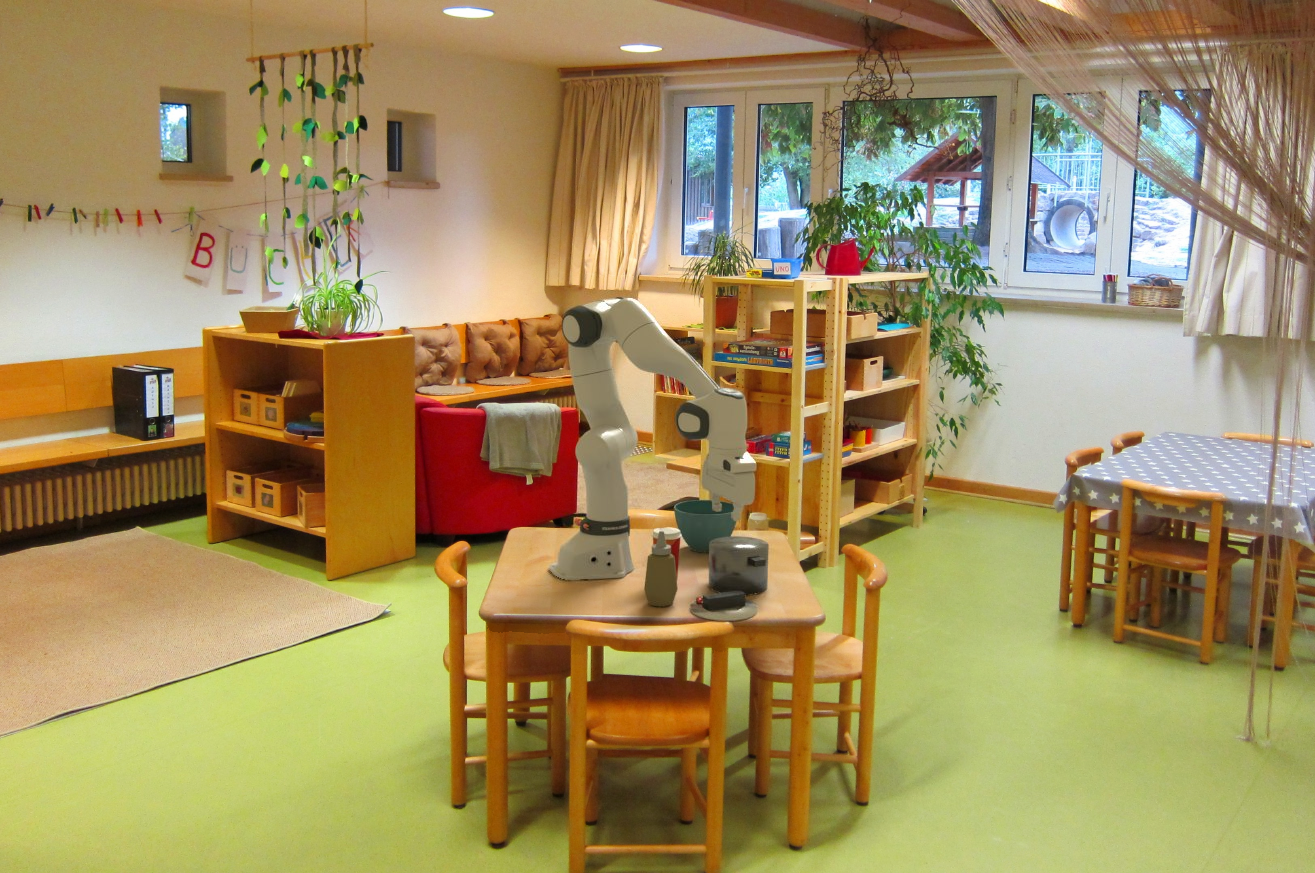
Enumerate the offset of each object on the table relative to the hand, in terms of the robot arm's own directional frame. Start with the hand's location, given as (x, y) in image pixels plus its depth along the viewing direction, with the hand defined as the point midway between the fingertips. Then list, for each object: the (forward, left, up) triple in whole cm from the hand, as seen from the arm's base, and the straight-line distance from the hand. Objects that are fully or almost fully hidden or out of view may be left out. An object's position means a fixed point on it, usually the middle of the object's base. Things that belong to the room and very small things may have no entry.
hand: (726, 515), depth 273 cm
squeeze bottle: (-12, +10, -23) cm, 28 cm away
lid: (0, 0, -24) cm, 24 cm away
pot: (+12, +15, -23) cm, 30 cm away
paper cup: (-4, +24, -23) cm, 34 cm away
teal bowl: (+20, +49, -23) cm, 58 cm away
